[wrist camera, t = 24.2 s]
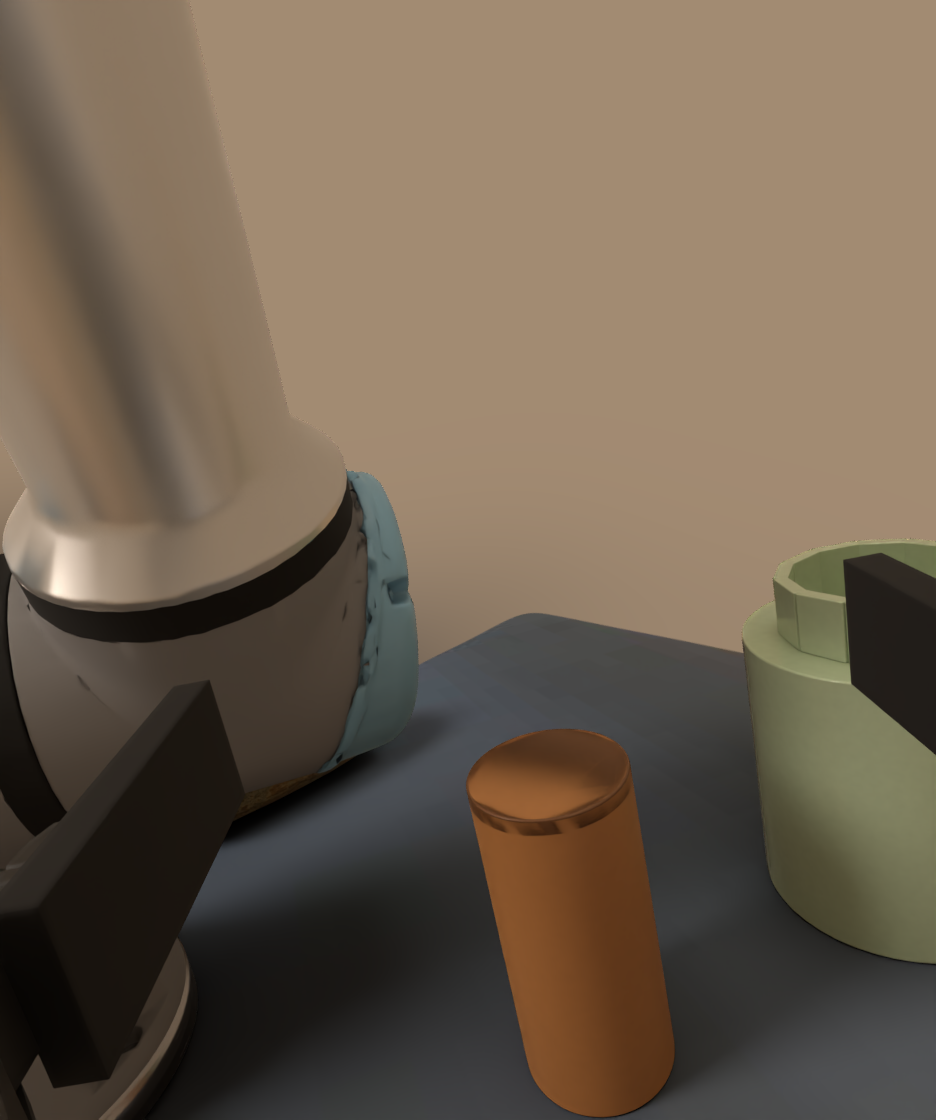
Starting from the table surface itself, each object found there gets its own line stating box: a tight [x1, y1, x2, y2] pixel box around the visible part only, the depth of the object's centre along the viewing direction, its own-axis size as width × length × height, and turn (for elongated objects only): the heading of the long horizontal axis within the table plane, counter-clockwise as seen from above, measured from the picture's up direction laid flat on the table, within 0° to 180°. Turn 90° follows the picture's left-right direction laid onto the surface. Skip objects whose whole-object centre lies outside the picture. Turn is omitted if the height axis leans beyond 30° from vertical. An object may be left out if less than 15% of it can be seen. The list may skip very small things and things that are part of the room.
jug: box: [742, 538, 936, 964], centre depth 33 cm, size 11×14×14 cm
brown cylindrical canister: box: [466, 729, 675, 1117], centre depth 27 cm, size 6×6×12 cm
